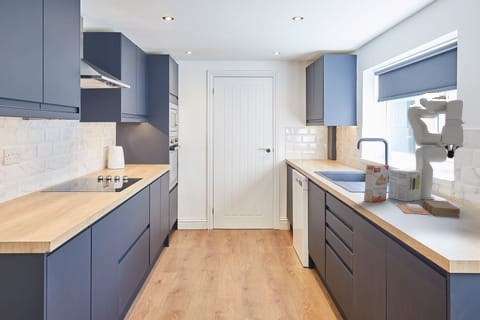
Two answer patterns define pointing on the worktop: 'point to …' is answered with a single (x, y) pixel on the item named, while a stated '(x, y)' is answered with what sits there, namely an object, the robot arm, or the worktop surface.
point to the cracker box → (376, 182)
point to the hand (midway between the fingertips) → (450, 158)
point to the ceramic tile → (414, 207)
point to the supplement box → (405, 184)
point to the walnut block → (441, 208)
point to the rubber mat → (405, 210)
